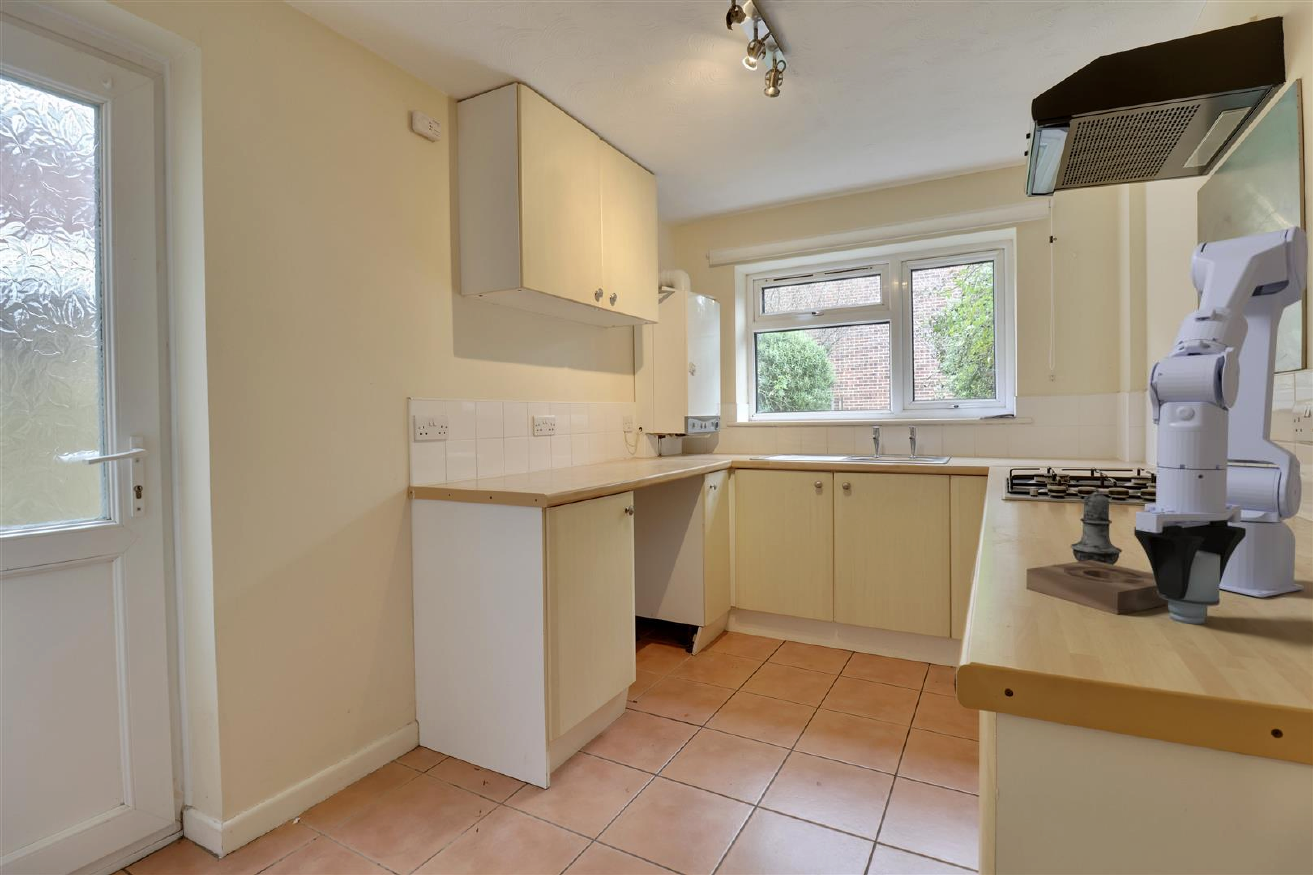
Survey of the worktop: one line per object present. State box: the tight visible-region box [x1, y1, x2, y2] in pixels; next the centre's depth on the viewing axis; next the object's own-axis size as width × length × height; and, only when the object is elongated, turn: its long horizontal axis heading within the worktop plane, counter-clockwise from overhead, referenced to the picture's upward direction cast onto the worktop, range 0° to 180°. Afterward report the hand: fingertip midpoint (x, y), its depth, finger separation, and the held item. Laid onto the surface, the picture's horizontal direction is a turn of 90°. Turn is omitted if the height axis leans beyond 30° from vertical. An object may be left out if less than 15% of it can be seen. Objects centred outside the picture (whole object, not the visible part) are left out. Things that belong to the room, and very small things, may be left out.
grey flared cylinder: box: [1069, 487, 1123, 565], centre depth 85 cm, size 6×6×12 cm
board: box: [1026, 560, 1168, 615], centre depth 76 cm, size 12×11×2 cm
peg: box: [1157, 550, 1221, 625], centre depth 66 cm, size 5×5×7 cm
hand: (1187, 593), depth 66 cm, fingers closed on peg, 5 cm apart
